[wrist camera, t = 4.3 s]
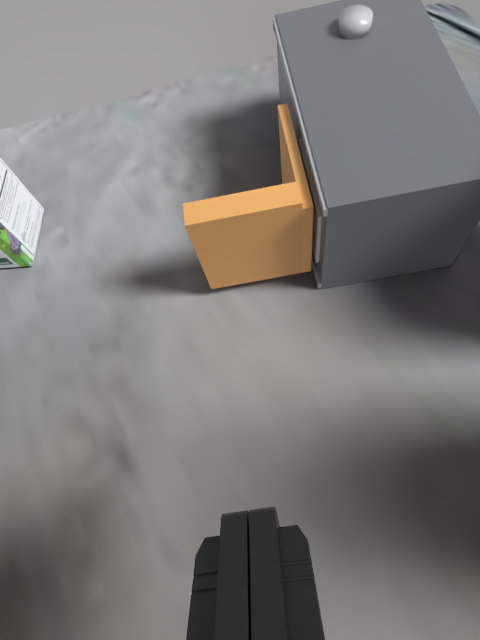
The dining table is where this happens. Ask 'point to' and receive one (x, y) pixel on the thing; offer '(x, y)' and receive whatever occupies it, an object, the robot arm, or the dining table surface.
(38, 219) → the syrup box
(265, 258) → the orange l-shaped bracket
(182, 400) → the dining table surface
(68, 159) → the dining table surface
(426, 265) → the block
